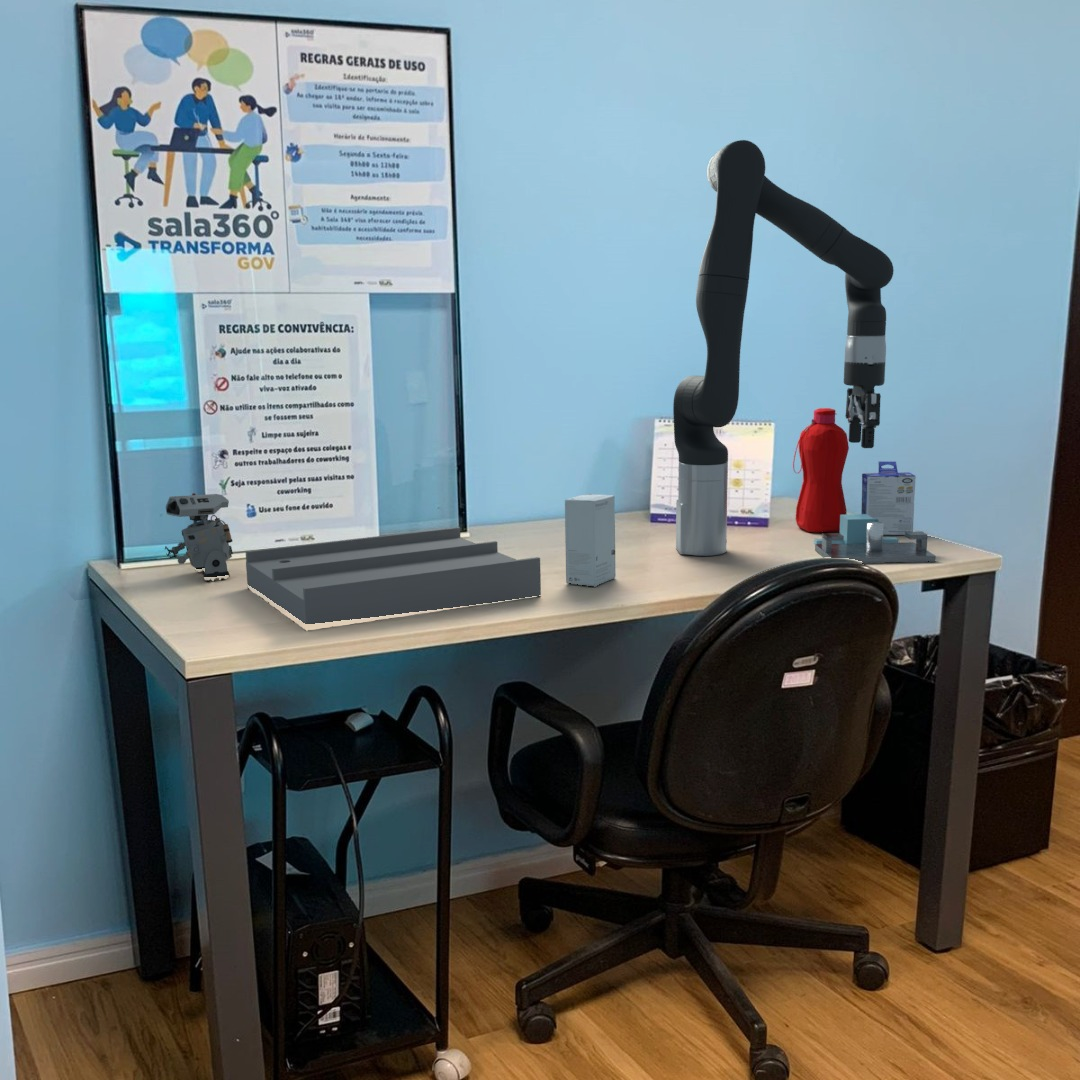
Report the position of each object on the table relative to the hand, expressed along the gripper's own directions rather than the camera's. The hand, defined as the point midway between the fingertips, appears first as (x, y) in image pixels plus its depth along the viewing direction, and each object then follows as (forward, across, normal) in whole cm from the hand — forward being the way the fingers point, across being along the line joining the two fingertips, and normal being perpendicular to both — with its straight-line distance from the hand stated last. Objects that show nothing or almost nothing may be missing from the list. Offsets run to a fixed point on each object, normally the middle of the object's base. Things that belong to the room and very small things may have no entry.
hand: (860, 445), depth 236 cm
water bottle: (+20, -15, -4) cm, 25 cm away
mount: (+20, +11, 0) cm, 22 cm away
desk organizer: (+21, +31, -88) cm, 95 cm away
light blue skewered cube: (+19, 0, 0) cm, 19 cm away
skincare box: (+20, +26, -54) cm, 63 cm away
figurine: (+21, +17, -123) cm, 126 cm away
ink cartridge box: (+20, -10, +9) cm, 24 cm away
